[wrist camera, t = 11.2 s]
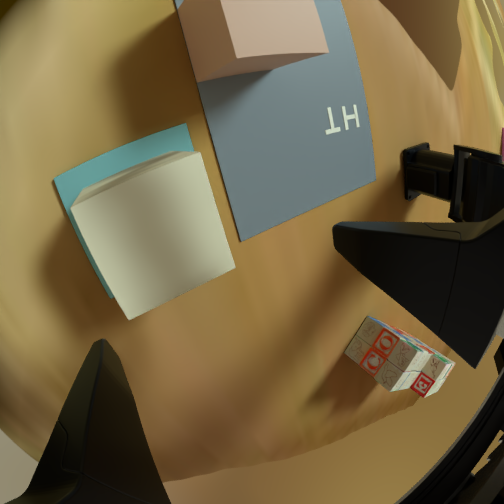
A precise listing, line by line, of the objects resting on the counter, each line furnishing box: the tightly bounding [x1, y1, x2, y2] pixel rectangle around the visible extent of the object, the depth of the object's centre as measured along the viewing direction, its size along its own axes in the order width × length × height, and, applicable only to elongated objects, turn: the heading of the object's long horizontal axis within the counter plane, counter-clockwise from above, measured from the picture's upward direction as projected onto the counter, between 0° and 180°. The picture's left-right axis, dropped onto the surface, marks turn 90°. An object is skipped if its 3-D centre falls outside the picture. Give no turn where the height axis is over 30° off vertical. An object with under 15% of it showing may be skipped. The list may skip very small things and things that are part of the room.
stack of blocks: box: [344, 316, 455, 398], centre depth 36 cm, size 21×6×12 cm, turn 56°
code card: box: [175, 0, 376, 242], centre depth 19 cm, size 16×20×1 cm
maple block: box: [70, 151, 236, 320], centre depth 14 cm, size 6×6×6 cm
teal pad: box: [54, 123, 194, 299], centre depth 17 cm, size 9×9×1 cm
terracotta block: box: [178, 0, 329, 83], centre depth 13 cm, size 6×6×6 cm
